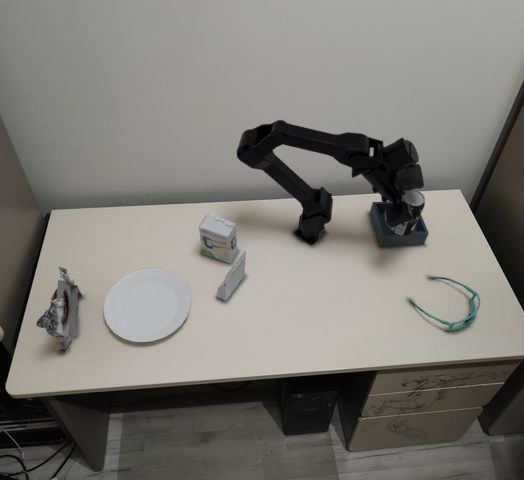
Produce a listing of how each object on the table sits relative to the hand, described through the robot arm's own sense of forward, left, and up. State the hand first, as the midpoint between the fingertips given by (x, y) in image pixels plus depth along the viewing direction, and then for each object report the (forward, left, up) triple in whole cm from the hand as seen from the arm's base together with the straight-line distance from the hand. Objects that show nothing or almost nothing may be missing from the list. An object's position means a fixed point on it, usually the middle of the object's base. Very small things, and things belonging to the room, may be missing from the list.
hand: (412, 212), depth 126 cm
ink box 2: (-25, -42, -14) cm, 51 cm away
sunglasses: (+19, -10, -14) cm, 25 cm away
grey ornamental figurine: (-47, -75, -14) cm, 90 cm away
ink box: (-35, -36, -14) cm, 52 cm away
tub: (-4, +4, -13) cm, 14 cm away
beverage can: (-1, -1, -7) cm, 7 cm away
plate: (-36, -60, -14) cm, 71 cm away
